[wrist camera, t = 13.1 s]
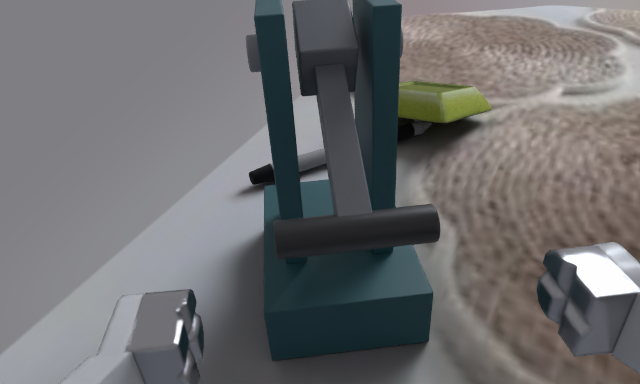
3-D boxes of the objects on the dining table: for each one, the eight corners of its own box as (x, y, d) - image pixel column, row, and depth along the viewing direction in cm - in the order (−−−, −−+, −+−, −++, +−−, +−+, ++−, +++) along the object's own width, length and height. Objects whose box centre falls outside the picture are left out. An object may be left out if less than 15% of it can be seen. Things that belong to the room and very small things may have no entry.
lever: (431, 254, 15) (448, 223, 13) (279, 272, 15) (273, 242, 13) (377, 40, 20) (383, -7, 18) (262, 50, 20) (255, 3, 18)
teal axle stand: (428, 342, 20) (461, 18, 13) (272, 361, 20) (215, 39, 13) (381, 215, 29) (384, -26, 22) (270, 226, 29) (235, -14, 21)
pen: (247, 179, 33) (247, 166, 32) (426, 123, 40) (431, 111, 39) (254, 191, 33) (254, 178, 32) (435, 133, 39) (440, 121, 38)
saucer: (408, 79, 45) (406, 100, 45) (352, 86, 39) (351, 111, 39) (496, 85, 39) (493, 109, 40) (447, 95, 33) (445, 124, 34)
